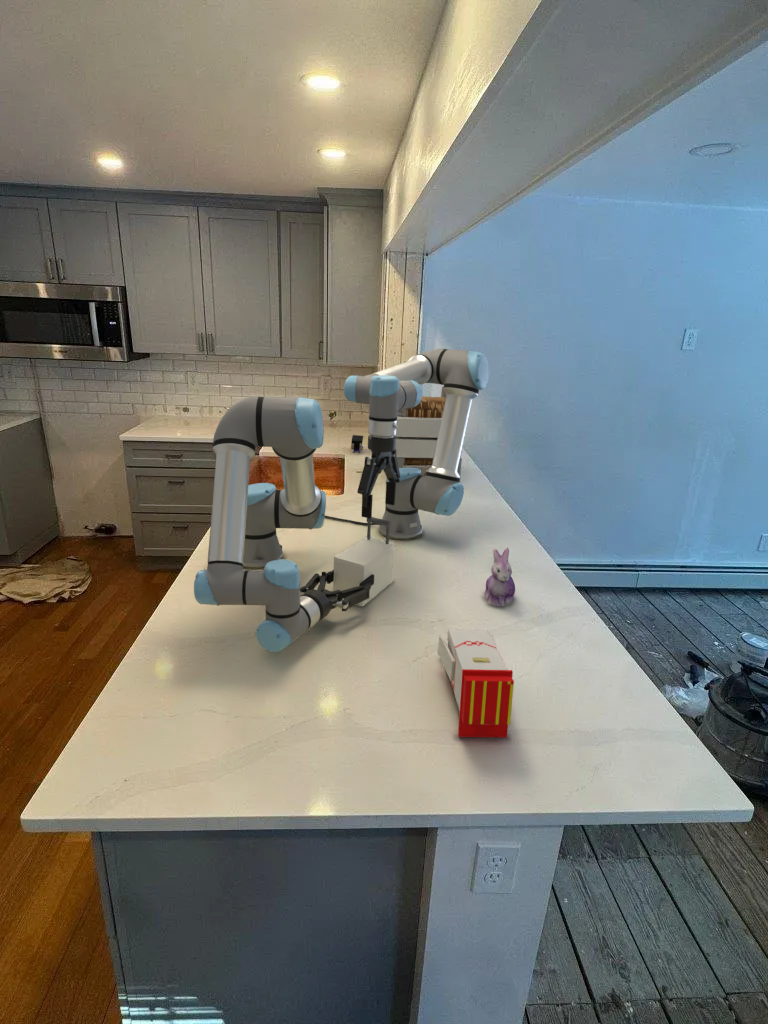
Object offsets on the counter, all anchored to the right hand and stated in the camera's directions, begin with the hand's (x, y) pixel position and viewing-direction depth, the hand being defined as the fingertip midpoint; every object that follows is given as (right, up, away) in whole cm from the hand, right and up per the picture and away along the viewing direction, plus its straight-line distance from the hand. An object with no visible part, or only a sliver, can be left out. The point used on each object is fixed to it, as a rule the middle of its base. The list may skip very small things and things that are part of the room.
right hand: (378, 510), depth 158 cm
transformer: (+19, +18, +117) cm, 120 cm away
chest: (-4, -22, +1) cm, 23 cm away
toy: (+19, -38, -39) cm, 58 cm away
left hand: (-6, -17, -4) cm, 19 cm away
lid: (-4, -12, -2) cm, 13 cm away
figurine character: (-13, +33, +154) cm, 158 cm away
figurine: (+33, -25, -1) cm, 42 cm away
